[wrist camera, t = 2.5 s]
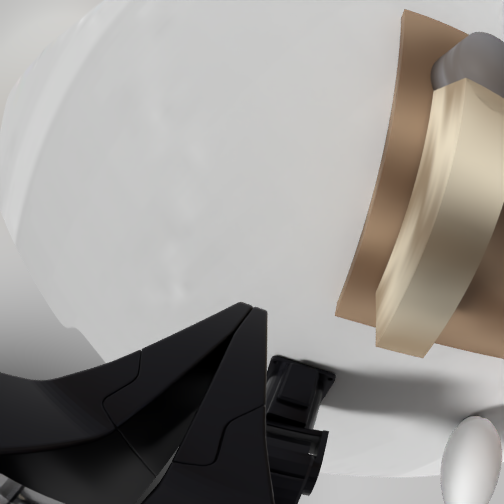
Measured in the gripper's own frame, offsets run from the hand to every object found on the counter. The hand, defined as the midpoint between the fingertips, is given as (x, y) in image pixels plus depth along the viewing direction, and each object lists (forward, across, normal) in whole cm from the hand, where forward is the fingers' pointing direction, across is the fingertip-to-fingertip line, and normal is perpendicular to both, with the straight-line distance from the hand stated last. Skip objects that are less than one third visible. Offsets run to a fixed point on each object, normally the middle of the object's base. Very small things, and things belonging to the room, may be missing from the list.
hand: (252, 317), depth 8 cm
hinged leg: (+10, -7, -4) cm, 13 cm away
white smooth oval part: (+12, -27, +19) cm, 35 cm away
